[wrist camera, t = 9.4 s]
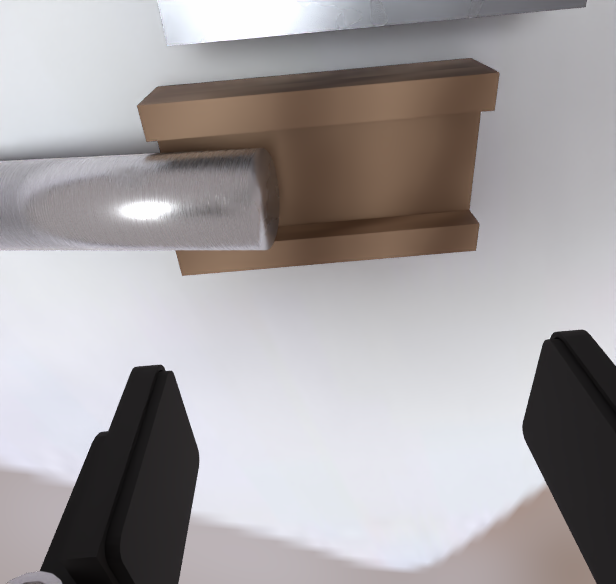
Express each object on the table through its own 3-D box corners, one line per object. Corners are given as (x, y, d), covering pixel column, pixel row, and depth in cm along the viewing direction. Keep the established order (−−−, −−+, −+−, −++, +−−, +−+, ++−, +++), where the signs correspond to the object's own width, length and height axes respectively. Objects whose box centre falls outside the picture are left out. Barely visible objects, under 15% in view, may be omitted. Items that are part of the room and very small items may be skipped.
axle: (270, 134, 20) (241, 169, 17) (284, 223, 22) (260, 268, 19) (-12, 150, 23) (-84, 182, 20) (24, 226, 25) (-35, 266, 22)
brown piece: (470, 58, 21) (499, 72, 19) (454, 218, 26) (476, 250, 23) (157, 86, 22) (136, 105, 19) (193, 241, 26) (182, 275, 23)
